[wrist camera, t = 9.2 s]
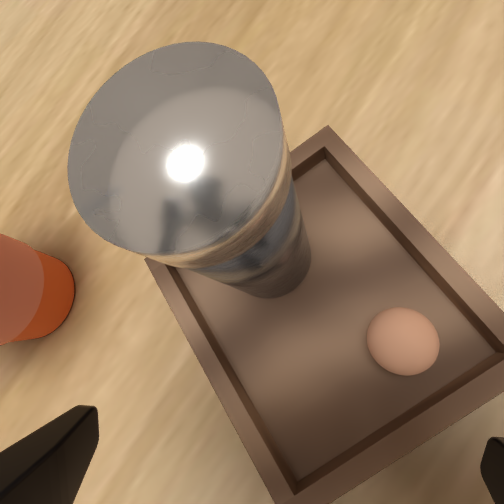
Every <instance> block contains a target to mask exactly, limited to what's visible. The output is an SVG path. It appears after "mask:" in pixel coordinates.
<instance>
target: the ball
mask: <svg viewBox="0 0 504 504" xmlns="http://www.w3.org/2000/svg"><path fill="white" fill-rule="evenodd" d="M367 345H368V348H369V351H370V353H371V355H372V357H373V358H374V359H375V361H376V362H377V363H378V364H379V365H380V366H381V367H383V368H384V369H386V370H388V371H389V372H392V373H394V374H398V375H404V376H410V375H416V374H420V373H422V372H424V371H426V370H427V369H428V368H430V367H431V366H432V365H433V363H434V362H435V361H436V359H437V356H438V353H439V348H440V342H439V337H438V333H437V331H436V329H435V327H434V326H433V324H432V323H431V322H430V321H429V320H428V319H427V318H426V317H425V316H424V315H422V314H421V313H419V312H417V311H415V310H413V309H410V308H404V307H393V308H389V309H386V310H384V311H382V312H380V313H379V314H377V315H376V316H375V317H374V318H373V320H372V321H371V323H370V324H369V327H368V330H367Z"/></svg>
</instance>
